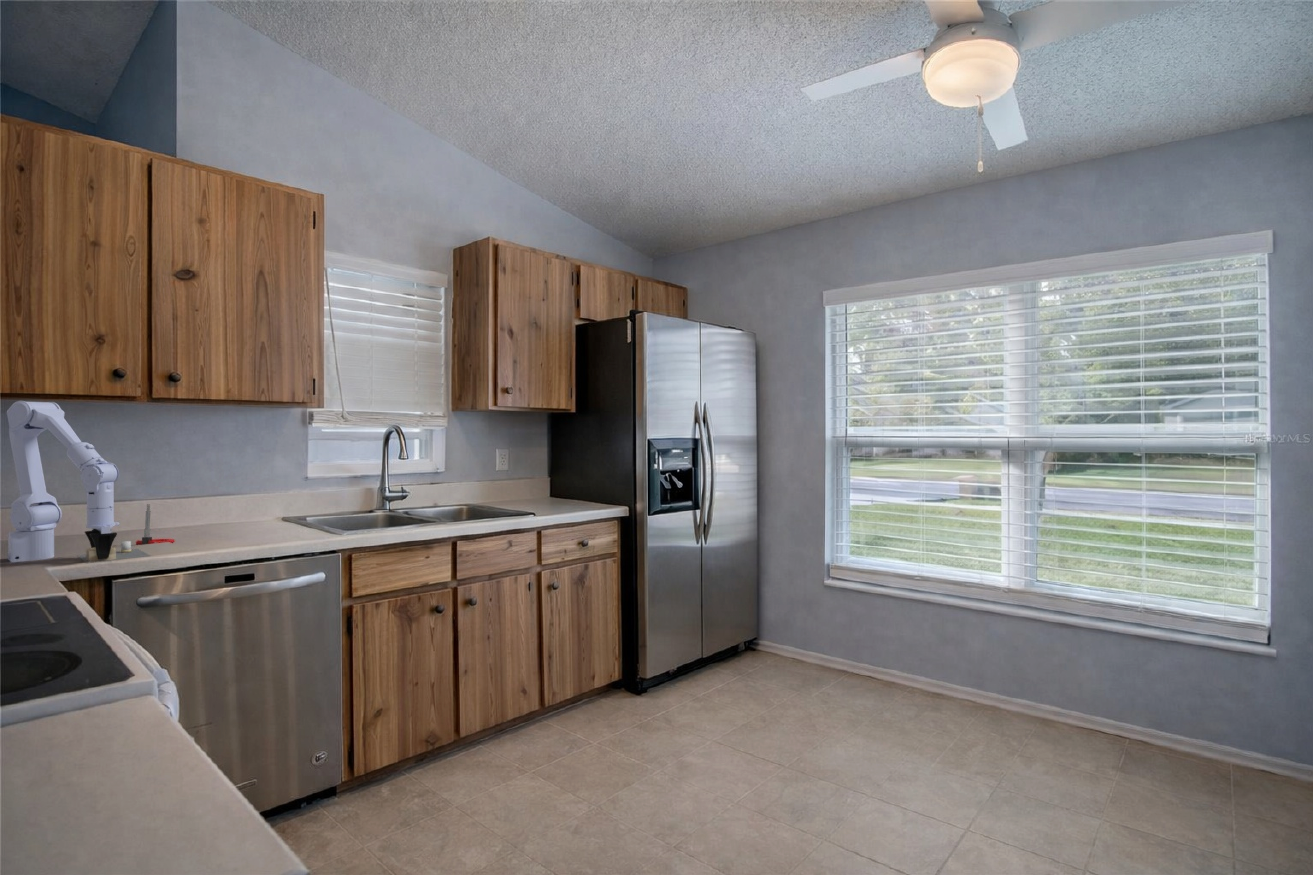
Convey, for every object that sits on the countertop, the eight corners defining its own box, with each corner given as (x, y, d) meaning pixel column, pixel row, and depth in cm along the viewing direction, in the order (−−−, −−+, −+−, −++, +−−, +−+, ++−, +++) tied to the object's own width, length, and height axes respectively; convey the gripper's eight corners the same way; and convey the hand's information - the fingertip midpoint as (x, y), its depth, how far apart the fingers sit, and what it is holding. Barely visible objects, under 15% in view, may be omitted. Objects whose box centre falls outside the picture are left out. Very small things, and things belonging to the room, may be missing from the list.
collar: (89, 561, 184) (89, 550, 184) (85, 559, 188) (85, 548, 187) (115, 559, 188) (115, 548, 188) (111, 556, 192) (111, 545, 192)
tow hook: (158, 541, 225) (132, 545, 216) (159, 502, 225) (134, 504, 216) (181, 542, 223) (156, 546, 214) (182, 503, 224) (157, 504, 215)
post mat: (87, 566, 182) (87, 551, 182) (76, 558, 193) (76, 544, 193) (151, 559, 193) (151, 545, 193) (137, 552, 204) (137, 538, 204)
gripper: (124, 508, 186) (125, 558, 186) (113, 504, 195) (113, 551, 196) (91, 510, 180) (91, 562, 181) (81, 506, 190) (81, 555, 190)
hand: (100, 557), depth 188 cm, fingers closed on collar, 6 cm apart
